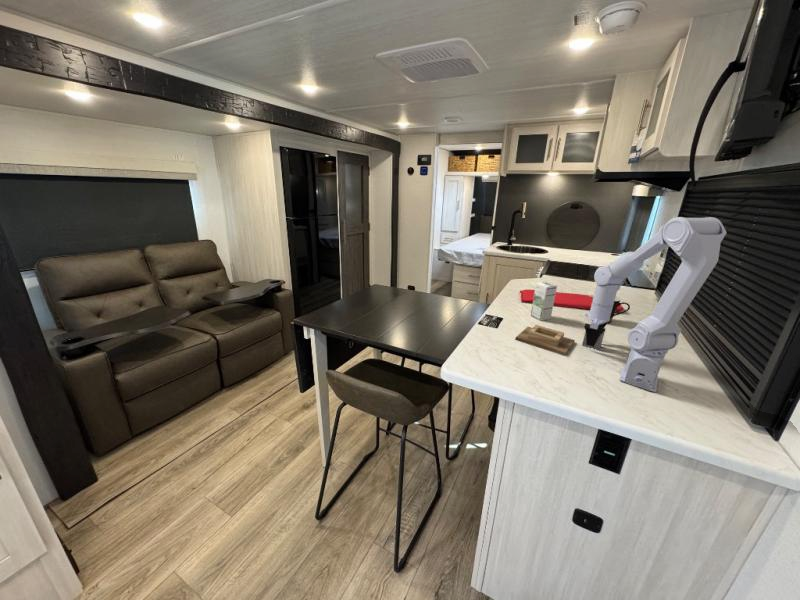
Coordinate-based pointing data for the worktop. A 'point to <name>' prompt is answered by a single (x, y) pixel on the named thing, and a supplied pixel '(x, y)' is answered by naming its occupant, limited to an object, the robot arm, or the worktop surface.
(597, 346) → the brushed grey block
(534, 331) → the slot block
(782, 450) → the worktop surface
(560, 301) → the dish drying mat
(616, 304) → the coffee mug
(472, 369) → the worktop surface
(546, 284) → the syrup box
